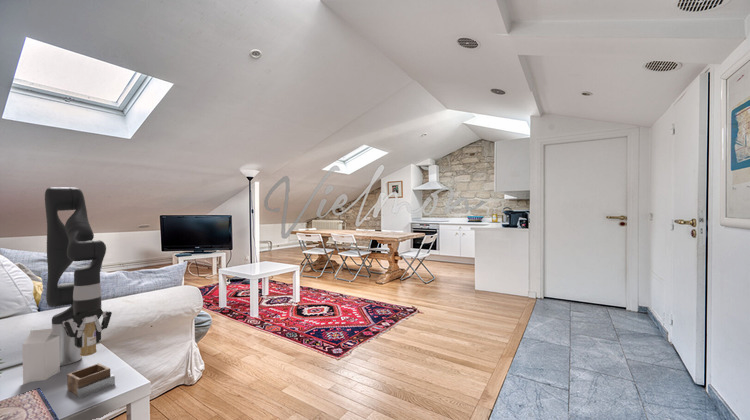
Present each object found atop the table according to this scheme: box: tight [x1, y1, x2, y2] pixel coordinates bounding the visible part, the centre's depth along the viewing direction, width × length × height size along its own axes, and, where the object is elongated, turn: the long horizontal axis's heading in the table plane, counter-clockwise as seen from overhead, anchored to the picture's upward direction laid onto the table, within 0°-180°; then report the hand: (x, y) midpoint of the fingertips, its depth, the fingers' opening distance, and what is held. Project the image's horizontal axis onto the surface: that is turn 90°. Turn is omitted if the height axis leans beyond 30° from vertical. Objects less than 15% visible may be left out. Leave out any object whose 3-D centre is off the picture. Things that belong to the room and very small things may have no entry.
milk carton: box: [22, 328, 61, 385], centre depth 125 cm, size 7×7×19 cm
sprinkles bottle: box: [80, 316, 98, 357], centre depth 117 cm, size 5×5×13 cm
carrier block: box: [66, 363, 111, 396], centre depth 117 cm, size 9×9×6 cm
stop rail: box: [76, 374, 116, 400], centre depth 114 cm, size 2×10×4 cm, turn 151°
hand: (88, 344), depth 117 cm, fingers closed on sprinkles bottle, 4 cm apart
